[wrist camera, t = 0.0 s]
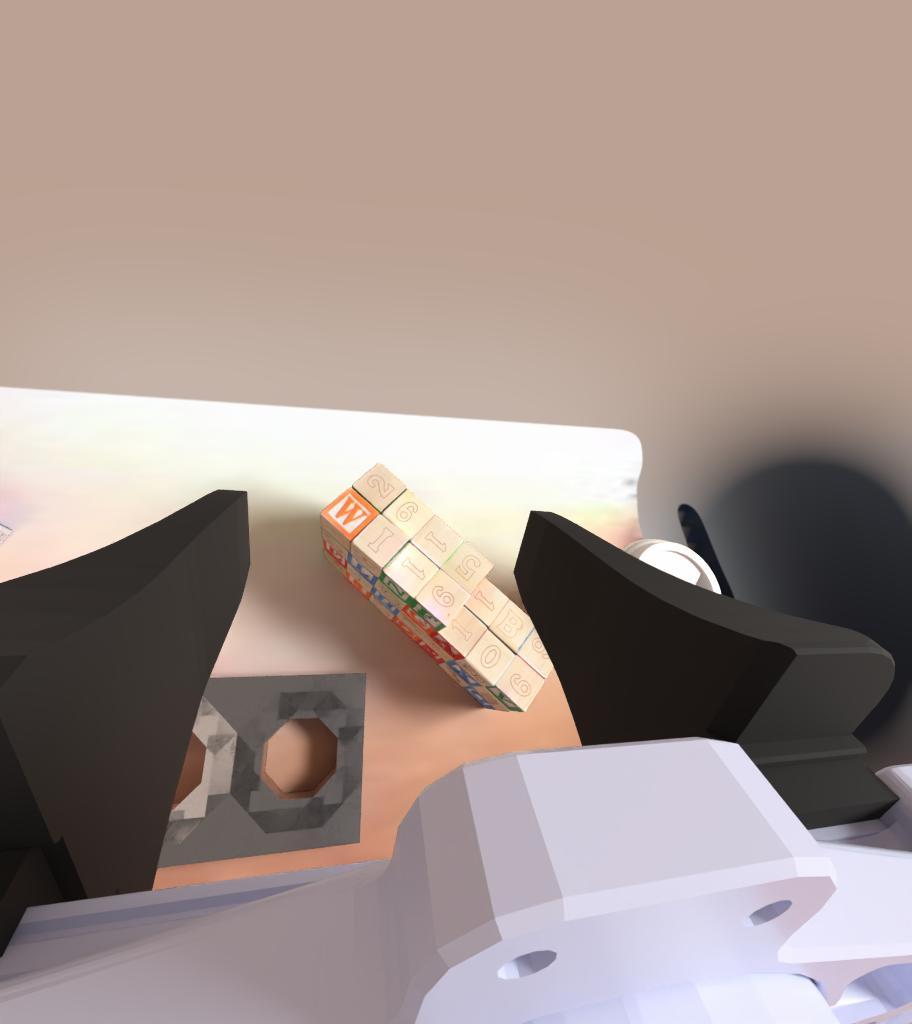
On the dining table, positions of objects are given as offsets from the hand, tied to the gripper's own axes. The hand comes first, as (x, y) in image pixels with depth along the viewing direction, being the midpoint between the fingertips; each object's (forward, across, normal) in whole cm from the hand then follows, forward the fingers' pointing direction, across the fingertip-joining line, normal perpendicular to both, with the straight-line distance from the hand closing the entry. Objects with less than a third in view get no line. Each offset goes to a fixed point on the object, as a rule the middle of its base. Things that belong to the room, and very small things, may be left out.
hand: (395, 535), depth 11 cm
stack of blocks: (+24, -7, +22) cm, 34 cm away
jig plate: (+15, +8, +30) cm, 34 cm away
